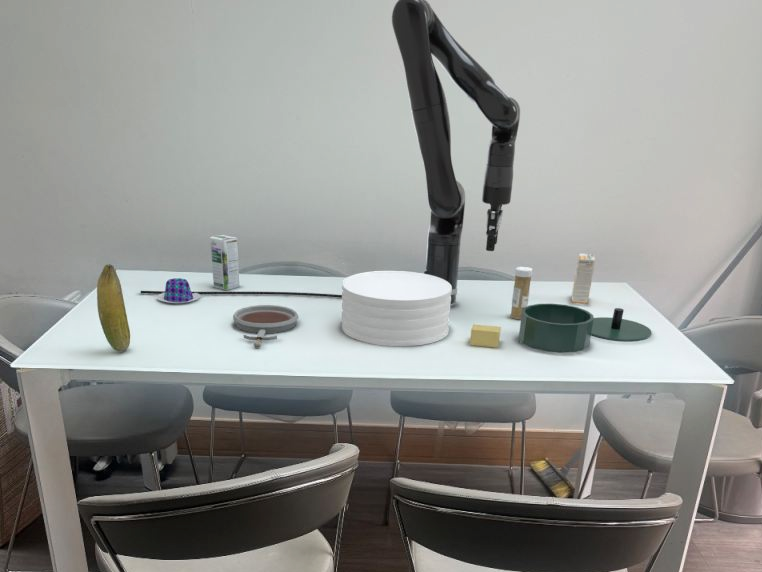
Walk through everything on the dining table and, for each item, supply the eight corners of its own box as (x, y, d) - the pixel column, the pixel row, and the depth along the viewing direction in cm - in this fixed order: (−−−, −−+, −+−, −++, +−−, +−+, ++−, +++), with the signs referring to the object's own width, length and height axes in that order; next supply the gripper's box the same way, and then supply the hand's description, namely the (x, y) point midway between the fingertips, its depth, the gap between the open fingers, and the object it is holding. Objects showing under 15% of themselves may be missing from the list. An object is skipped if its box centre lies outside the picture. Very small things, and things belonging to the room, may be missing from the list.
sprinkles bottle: (527, 320, 210) (534, 270, 203) (511, 319, 210) (517, 270, 203) (524, 315, 214) (530, 266, 207) (508, 314, 214) (514, 265, 207)
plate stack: (324, 335, 193) (323, 290, 187) (366, 307, 216) (367, 265, 210) (428, 353, 185) (431, 306, 179) (461, 321, 207) (465, 278, 201)
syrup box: (212, 287, 228) (208, 236, 220) (227, 283, 232) (223, 233, 224) (226, 290, 225) (222, 239, 218) (240, 286, 229) (237, 236, 222)
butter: (469, 345, 191) (471, 329, 189) (471, 339, 195) (473, 324, 193) (497, 347, 190) (499, 332, 188) (499, 342, 194) (500, 326, 192)
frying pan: (220, 338, 182) (237, 302, 206) (221, 350, 184) (238, 313, 207) (292, 340, 183) (300, 304, 206) (292, 352, 184) (301, 314, 208)
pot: (516, 350, 189) (520, 320, 185) (520, 328, 204) (524, 300, 200) (589, 357, 186) (594, 327, 182) (587, 335, 201) (592, 307, 197)
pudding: (206, 295, 221) (205, 276, 218) (190, 306, 211) (188, 287, 208) (167, 291, 222) (165, 273, 220) (149, 303, 212) (147, 284, 209)
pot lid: (579, 339, 198) (583, 316, 194) (578, 318, 213) (582, 296, 210) (653, 346, 195) (659, 323, 192) (647, 324, 210) (652, 302, 207)
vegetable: (124, 357, 176) (111, 269, 165) (99, 355, 177) (84, 267, 166) (136, 348, 181) (124, 262, 170) (111, 346, 182) (98, 260, 171)
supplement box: (587, 305, 224) (595, 260, 217) (571, 304, 225) (578, 258, 218) (587, 298, 231) (594, 253, 224) (571, 296, 232) (578, 252, 225)
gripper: (486, 178, 207) (480, 240, 216) (481, 186, 195) (475, 252, 204) (513, 180, 206) (506, 242, 214) (510, 188, 194) (503, 254, 202)
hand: (491, 247), depth 209 cm, fingers open, 8 cm apart
